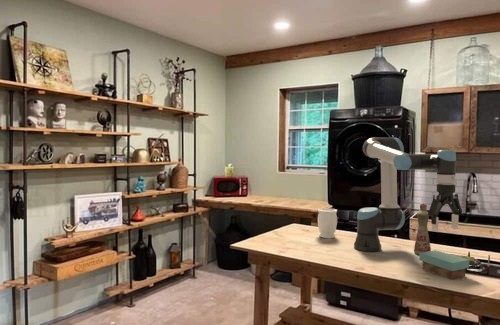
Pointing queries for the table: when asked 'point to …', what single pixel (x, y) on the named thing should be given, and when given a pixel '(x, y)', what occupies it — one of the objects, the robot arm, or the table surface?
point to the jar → (327, 222)
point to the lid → (444, 260)
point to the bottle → (422, 231)
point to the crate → (443, 271)
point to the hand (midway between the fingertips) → (445, 229)
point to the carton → (471, 259)
